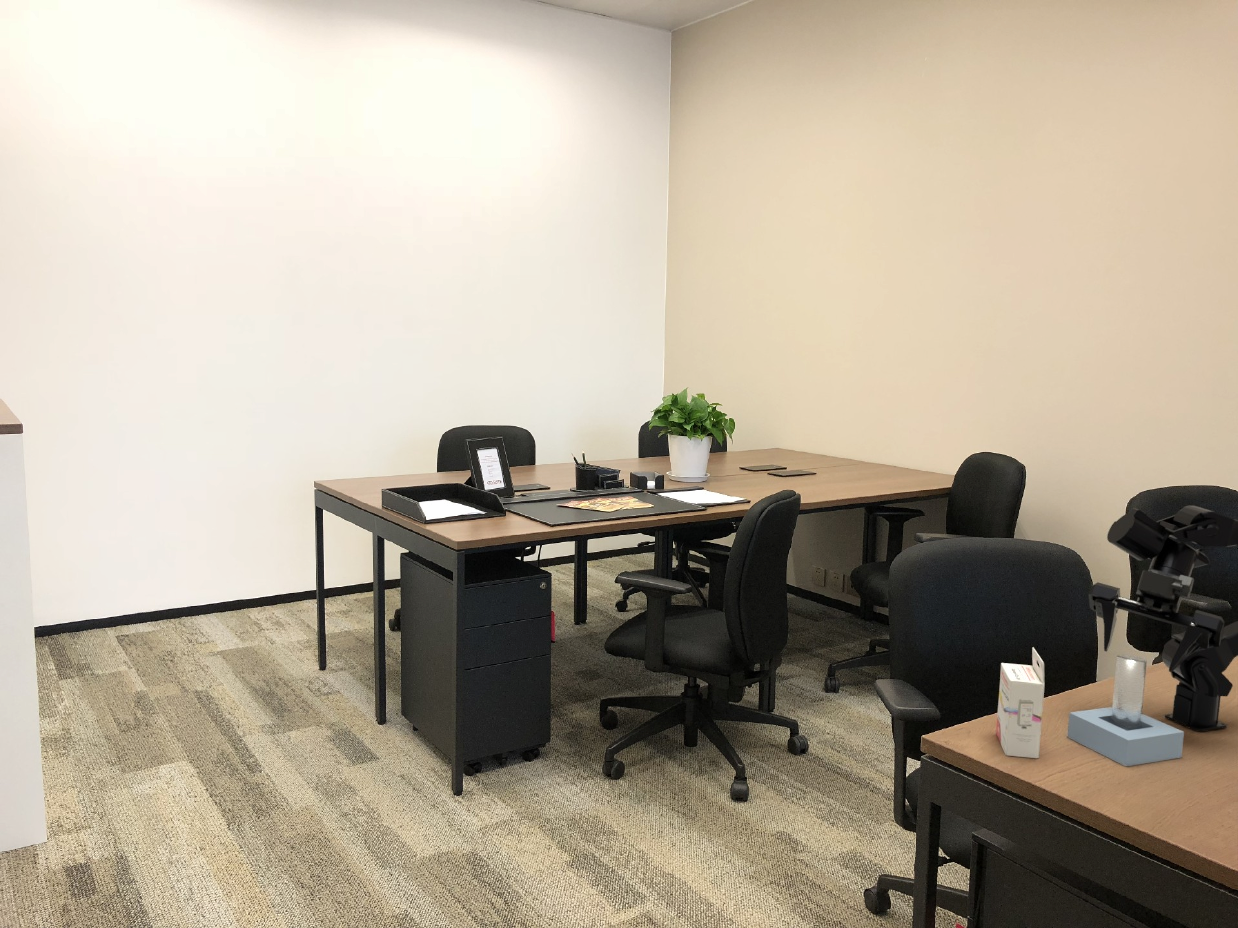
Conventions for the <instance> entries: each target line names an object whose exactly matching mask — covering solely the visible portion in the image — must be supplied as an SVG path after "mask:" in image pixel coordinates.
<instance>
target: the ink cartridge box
mask: <svg viewBox="0 0 1238 928" xmlns="http://www.w3.org/2000/svg"><path fill="white" fill-rule="evenodd" d="M1031 649H1032V650H1031V651H1032V652H1031V653H1032V654H1031V658H1032V660H1031V661H1032V665H1028V664H1017V663H1005V662H1001V663H1000V677H999V679H1000V680H999V690H998V691H999V692H998V703H997V704H998V705H997V713H996V714H997V717H996V729H995V730H996V731H995V735H996V736H997V739H998V741H999V743H1000V745H1001V748H1002V750H1003V752H1004V755H1005V756H1009V757H1019V758H1029V759H1031V758H1032V759H1039V758H1040V747H1041V737H1042V735H1041V732H1042V724H1043V722H1042V721H1043V710H1044V709H1043V708H1044V699H1045V698H1044V697H1045V696H1044V695H1045V694H1044V693H1045V662H1044V661H1043V659H1042V658H1041V656H1040V655H1039V653H1038V652H1037V650H1036V649H1035V647H1034V646H1033V647H1032V648H1031ZM1038 664H1039V665H1038Z"/></svg>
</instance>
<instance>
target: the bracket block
mask: <svg viewBox="0 0 1238 928" xmlns="http://www.w3.org/2000/svg"><path fill="white" fill-rule="evenodd" d="M1111 716H1112V706H1109V707H1102V708H1094V709H1089V710H1088V709H1087V710H1078V711H1072V712H1070V711H1069V714H1068V723H1067V725H1068V726H1067V736H1066V737H1067V738H1068V739H1070V740H1072V741H1074V742H1077V743H1078V744H1079V745H1082V746H1084V747H1085V748H1088V749H1090V750H1092V751H1094V752H1096V753H1098V754H1099V755H1100V754H1101V755H1102V756H1104V757H1107V758H1108V759H1110V760H1112V761H1114V762H1116V763H1118V764H1120V765H1121V766H1124V767H1132V766H1138V765H1142V764H1149V763H1155V762H1162V761H1167V760H1173V759H1180V758H1182V755H1183V745H1184V735H1185V731H1183V730H1181V729H1178V728H1176V727H1174V726H1172V725H1169V724H1167V723H1164V722H1163V721H1160V720H1158V719H1156V718H1153V717H1152V716H1148V715H1145V714H1143V713H1142V716H1141V726H1140V729H1136V730H1129V731H1126V730H1124V729H1122V728H1120V727H1118V726H1115V725H1113V724H1111Z"/></svg>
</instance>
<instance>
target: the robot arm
mask: <svg viewBox="0 0 1238 928" xmlns="http://www.w3.org/2000/svg"><path fill="white" fill-rule="evenodd" d="M1106 536H1107V537H1106V538H1107V541H1108V542H1109V543H1110V544H1111V545H1114V546H1115V547H1116V548H1119V549H1120V550H1122V551H1123V552H1125V553H1126V554H1128V555H1129V556H1131V557H1132V558H1134V559H1136V560H1137V561H1146V560H1151V562H1150V565H1149V568H1148V570H1145V569H1143V570H1142V573H1141V575H1140V578H1139V581H1138V585H1137V588H1136V589H1137V590H1136V592H1135V597H1136V598H1137V600H1133V599H1130V598H1127V597H1122V596H1121V588H1119V587H1117V586H1113V585H1109V584H1106V583H1103V582H1095V583H1094V584H1092V585H1091V587H1090V589H1089V592H1088V603H1089V604H1088V605H1089V609H1090V610H1092V611H1093V612H1096V613H1095V614H1096V616H1097V617H1098V618H1101V619H1102V621H1103V651H1104V652H1108V651H1109V649H1110V646H1111V643H1112V639H1113V635H1114V632H1115V628H1116V624H1117V614H1118V612H1119V610H1121V611H1124V612H1125V611H1126V612H1129V613H1132V614H1135V615H1139V616H1143V617H1146V618H1149V619H1152V620H1157V621H1158V622H1159V621H1160V622H1162V623H1166V624H1171V625H1174V626H1175V627H1176V626H1178V627H1180V628H1184V629H1185V630H1184V631H1183V632H1180V633H1177V634H1171V637H1172V639H1170V640H1168V641H1167V642H1166V643H1164V646H1163V650H1162V653H1161V658H1162V661H1163V663H1164V665H1165V666H1166V668H1168V672H1169V673H1170V675H1171V678H1173V679H1175V680H1177V682H1178V684H1176V687H1175V694H1174V698H1173V706H1172V713H1165V714H1164V718H1166V719H1168V720H1169V721H1172V722H1175V723H1177V724H1180V725H1182V726H1184V727H1187V728H1188V729H1191V730H1194V731H1196V732H1206V731H1212V730H1219V729H1227V727H1228V725H1227V724H1226V723H1224V722H1221V721H1219V717H1220V716H1219V713H1220V707H1221V706H1220V705H1221V697H1228V696H1229V695H1230V692H1231V690H1232V689H1233V686H1234V685H1233V683H1232V682H1231V681H1230V680H1229V679H1228V678H1227V677H1226V675H1225V674H1223V673H1225V672H1226V670H1227V668H1228V667H1229V666H1230V665H1231V663H1232V662H1233V660H1234V659H1235V658H1236V657H1238V620H1237V621H1234V622H1232V623H1229V624H1228V625H1226V626H1225V620H1224V619H1223V617H1222V616H1220V615H1219V616H1218V615H1216V614H1212V613H1209V612H1206V611H1202V610H1198V609H1196V610H1195V611H1194V614H1193V615H1192V616H1189V615H1186V614H1182V613H1180V612H1178V611H1179V608H1180V605H1181V603H1182V599H1183V598H1185V599H1187V600H1188V599H1190V597H1191V593H1192V590H1193V586H1194V583H1195V579H1194V577H1191V575H1192V571H1193V569H1195V568H1200V567H1204V566H1207V565H1210V559H1209V557H1208V556H1207V555H1206V554H1205V553H1204V550H1203V549H1202V548H1198V549H1197V548H1196V549H1195V548H1194V547H1192V546H1191V545H1189V544H1187V543H1193V544H1196V545H1197V546H1201V547H1204V548H1227V547H1228V548H1229V547H1237V546H1238V519H1236V518H1233V517H1230V516H1228V515H1225V514H1222V513H1220V512H1219V513H1218V512H1215V511H1213V510H1209V509H1206V508H1203V507H1200V506H1196V505H1186V506H1183V508H1181V509H1179V510H1178V511H1177V513H1175V514H1174V515H1171V516H1170V515H1169V516H1168V517H1165V518H1162V519H1159V520H1157V521H1156V520H1154V519H1153V518H1151V517H1149V516H1148V515H1147V513H1146V512H1144V511H1142V510H1140V509H1138V508H1135V507H1132V508H1131V510H1130V511H1129V512H1128V513H1126V514H1123V515H1122V516H1121V517H1120V518H1118V519H1117V520H1116V521H1113V523H1112V525H1111V526H1110V527H1109V529H1108V532H1107V535H1106ZM1170 537H1171V538H1173V539H1176V541H1175V540H1173V539H1171V538H1170Z"/></svg>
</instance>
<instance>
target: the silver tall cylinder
mask: <svg viewBox="0 0 1238 928" xmlns="http://www.w3.org/2000/svg"><path fill="white" fill-rule="evenodd" d="M1147 663H1148V661H1147V659H1146V658H1144V657H1141V656H1138V655H1135V654H1134V655H1133V654H1118V655H1117V656H1116V664H1115V673H1114V684H1113V695H1112V705H1111V707H1112V716H1111V724H1113V725H1115V726H1118V727H1120V728H1122V729H1124V730H1126V731H1129V730H1136V729H1140V726H1141V716H1142V714H1143V705H1144V695H1145V685H1146V684H1145V683H1146V674H1147V673H1146V672H1147Z"/></svg>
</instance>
